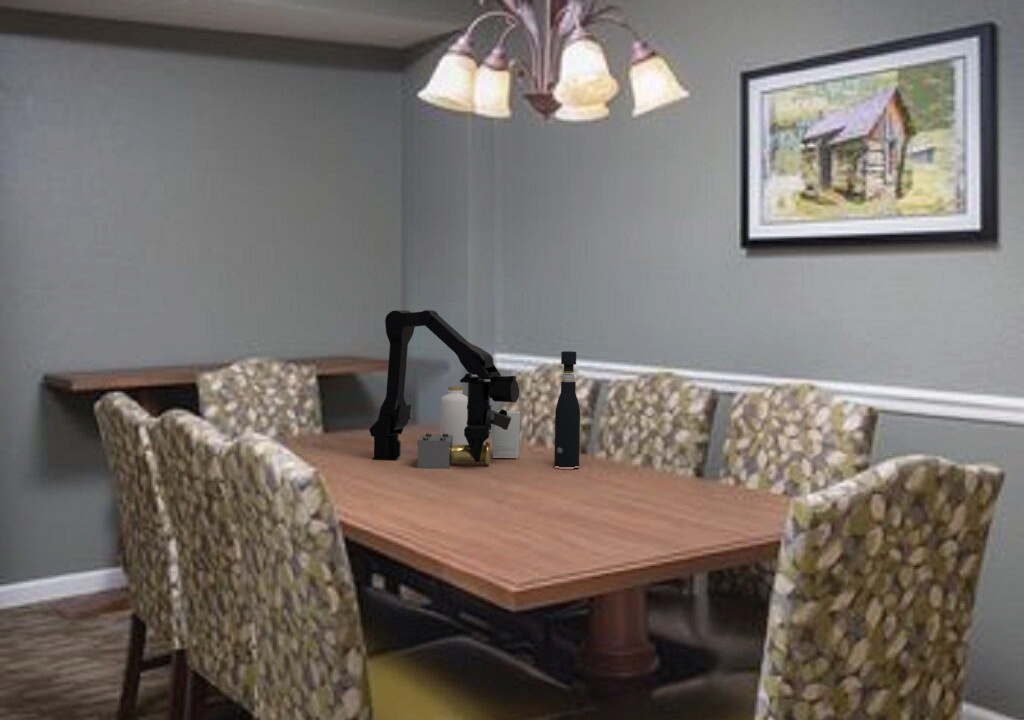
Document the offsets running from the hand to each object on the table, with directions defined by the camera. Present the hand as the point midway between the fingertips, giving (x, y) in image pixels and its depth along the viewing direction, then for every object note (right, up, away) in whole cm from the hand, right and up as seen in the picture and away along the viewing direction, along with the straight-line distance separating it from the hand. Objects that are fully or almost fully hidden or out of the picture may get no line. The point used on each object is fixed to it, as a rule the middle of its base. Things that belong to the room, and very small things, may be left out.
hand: (477, 460), depth 293 cm
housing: (-11, -1, 0) cm, 11 cm away
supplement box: (+7, -1, +16) cm, 18 cm away
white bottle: (-8, 0, +29) cm, 30 cm away
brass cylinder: (-5, -1, 0) cm, 5 cm away
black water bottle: (+23, -2, -1) cm, 23 cm away
